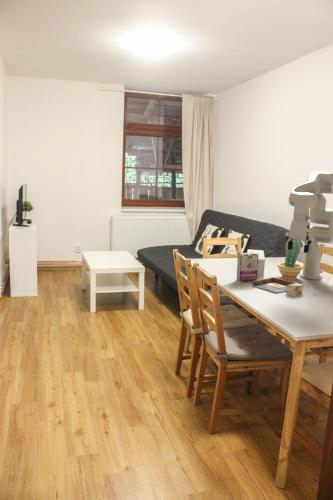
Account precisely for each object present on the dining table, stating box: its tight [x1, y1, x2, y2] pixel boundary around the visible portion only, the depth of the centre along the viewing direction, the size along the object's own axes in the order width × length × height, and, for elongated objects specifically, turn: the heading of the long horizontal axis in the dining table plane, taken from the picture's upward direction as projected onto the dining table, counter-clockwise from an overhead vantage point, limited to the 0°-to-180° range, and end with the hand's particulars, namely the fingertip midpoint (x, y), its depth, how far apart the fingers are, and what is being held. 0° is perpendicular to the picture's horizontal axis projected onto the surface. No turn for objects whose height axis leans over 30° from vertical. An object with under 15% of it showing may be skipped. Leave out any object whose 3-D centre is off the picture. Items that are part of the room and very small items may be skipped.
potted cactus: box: [276, 239, 304, 281], centre depth 262 cm, size 15×15×25 cm
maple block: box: [285, 282, 304, 297], centre depth 229 cm, size 8×4×5 cm, turn 125°
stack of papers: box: [246, 248, 266, 277], centre depth 281 cm, size 32×11×11 cm, turn 169°
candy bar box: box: [236, 252, 258, 283], centre depth 252 cm, size 11×5×16 cm, turn 105°
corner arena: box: [251, 276, 296, 294], centre depth 241 cm, size 18×17×3 cm
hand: (297, 250), depth 225 cm, fingers open, 9 cm apart
